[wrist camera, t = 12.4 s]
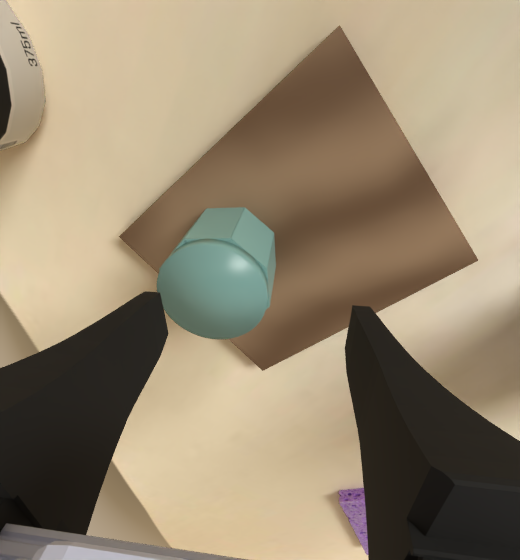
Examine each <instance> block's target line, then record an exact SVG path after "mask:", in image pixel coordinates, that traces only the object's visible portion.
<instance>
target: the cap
mask: <svg viewBox="0 0 520 560" xmlns="http://www.w3.org/2000/svg"><path fill="white" fill-rule="evenodd" d="M275 269H276V258H275V239H274V232H273V231H272V230H270V229H269V228H268V227H267V226H266V225H265V224H264V223H262V222H261V221H260V220H259V219H258V218H257V217H256V216H254V215H253V214H252V213H251V212H250V211H249V210H247V209H246V208H245V207H236V208H207V209H205V211H204V212H203V213H202V214H201V216H200V217H199V218H198V219H197V220H196V222H195V223H194V224H193V225H192V227H191V228H190V229H189V230H188V231H187V233H186V234H185V235H184V237H183V238H182V239H181V241H180V242H179V243H178V244H177V246H176V247H175V248H174V250H173V251H172V252H171V254H170V255H169V256H168V258H167V259H166V260H165V262H164V263H163V264H162V266H161V267H160V268H159V270H160V272H159V275H158V278H157V292H159V293H160V294H161V299H162V304H163V308H164V310H165V311H166V313H167V314H168V315H169V316H170V318H171V319H172V320H173V321H174V322H175V323H177V324H178V325H179V326H181V327H182V328H184V329H185V330H187V331H189V332H191V333H193V334H196V335H198V336H201V337H205V338H210V339H230V338H235V337H239V336H241V335H244V334H246V333H248V332H249V331H251V330H252V329H253V328H255V327H256V326H257V325H258V323H259V322H260V321H261V319H262V318H263V316H264V313H265V310H266V309H267V308H269V307H270V302H271V295H272V288H273V282H274V275H275Z"/></svg>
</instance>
